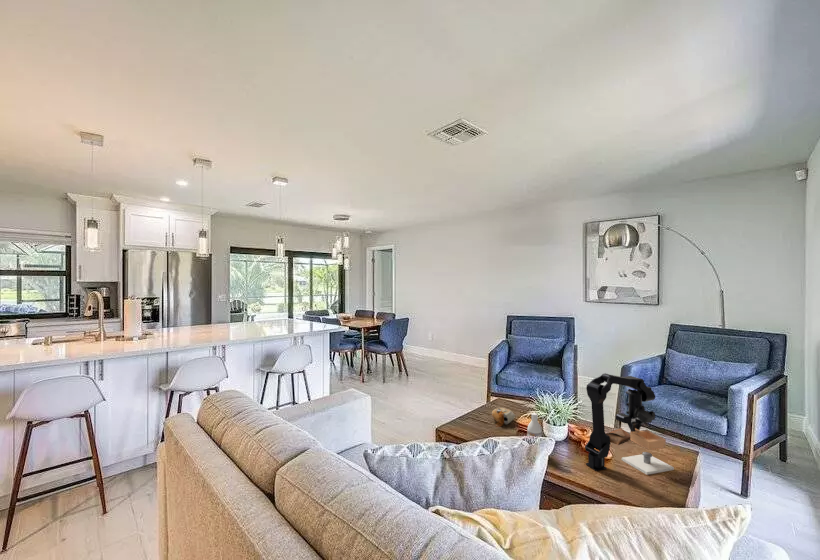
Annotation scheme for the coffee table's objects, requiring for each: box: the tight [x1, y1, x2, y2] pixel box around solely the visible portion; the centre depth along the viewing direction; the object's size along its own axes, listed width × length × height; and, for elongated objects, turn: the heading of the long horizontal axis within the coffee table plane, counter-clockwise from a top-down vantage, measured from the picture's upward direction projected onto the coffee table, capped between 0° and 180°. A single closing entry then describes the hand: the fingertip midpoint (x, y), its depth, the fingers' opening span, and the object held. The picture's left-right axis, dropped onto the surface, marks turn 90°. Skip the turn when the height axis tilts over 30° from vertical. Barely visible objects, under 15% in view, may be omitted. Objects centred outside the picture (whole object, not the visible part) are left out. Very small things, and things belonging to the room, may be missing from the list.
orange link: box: [629, 428, 667, 451], centre depth 180 cm, size 10×14×4 cm
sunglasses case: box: [605, 427, 630, 446], centre depth 208 cm, size 18×7×7 cm, turn 124°
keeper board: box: [621, 451, 675, 475], centre depth 179 cm, size 16×14×5 cm
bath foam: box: [526, 412, 543, 437], centre depth 190 cm, size 7×7×20 cm
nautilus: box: [491, 407, 516, 428], centre depth 229 cm, size 8×22×15 cm
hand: (634, 433), depth 185 cm, fingers closed on orange link, 2 cm apart
